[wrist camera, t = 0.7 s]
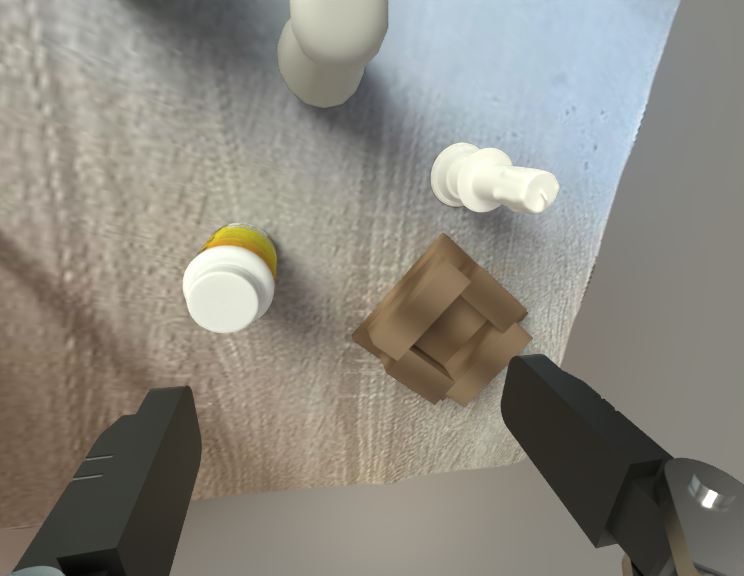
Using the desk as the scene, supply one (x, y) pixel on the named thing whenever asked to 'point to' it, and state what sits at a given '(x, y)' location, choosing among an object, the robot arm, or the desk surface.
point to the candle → (490, 181)
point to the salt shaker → (330, 47)
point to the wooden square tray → (445, 326)
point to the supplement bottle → (231, 278)
